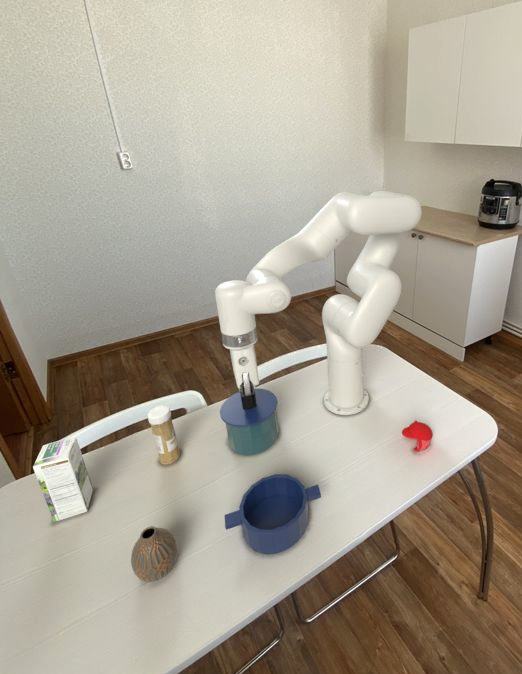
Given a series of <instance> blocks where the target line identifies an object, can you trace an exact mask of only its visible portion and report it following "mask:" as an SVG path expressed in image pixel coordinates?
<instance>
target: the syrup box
mask: <svg viewBox="0 0 522 674" xmlns="http://www.w3.org/2000/svg"><path fill="white" fill-rule="evenodd" d="M32 468H33V472H34V474H35V477H36V480H37V482H38V485H39V488H40V490H41V492H42V495H43V497H44V501H45V503H46V505H47V508H48V511H49V513H50V515H51V517H52V521H53V522H54V523H55V522H60V521H62V520H63V521H64V520H65V519H68V518H72V517H75V516H78V515H82V514H84V513H87V512H89V509H90V504H91V500H92V497H93V492H94V486H93V484H92V481H91V477H90V475H89V472H88V469H87V466H86V463H85V460H84V456H83V454H82V450H81V447H80V444H79V441H78V438H77V437H72V438H65V439H61V440H57V441H53V442H49V443H46V444H44V445H42V446H41V449H40V451H39V453H38V455H37V458H36V460H35V462H34V464H33V466H32Z"/></svg>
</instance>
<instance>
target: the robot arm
mask: <svg viewBox="0 0 522 674" xmlns="http://www.w3.org/2000/svg"><path fill="white" fill-rule="evenodd" d="M422 214H423V210H422V206H421V203H420V202H419V201H418V200H417V198H415V197H414V196H411V195H409V194H404V193H400V192H394V191H389V190H376V191H373V192H372V193H371V194H370V195H365V194H360V193H355V192H351V191H341V192H338V193H336V194H335V195H334V196H333V197H331V198H330V200H328V201H327V202H326V204H325V205H324V206H323V207H322V208H320V210H319V211H318V212H317V213H316V214H315V215H314V216H313V217H312V218H311V220H309V222H308V223H306V224H305V226H304V227H303V228H302V229H301V230H300V231H298V233H296V234H295V235H293V236H291V237H289V238H288V239H286V240H285V241H283V242H281V243H280V244H278V245H277V246H275V247H273V248H272V249H270V250H269V251H268V252H267V253H266V254H265V255H264V256H263V257H262V258H261V259H260V260H259V261H258V262H257V263H256V264H255V265H254V266H253V267H252V268H251V270H250V271H249V273H248V274H247V275H246V279H245V280H240V279H233V280H227V281H224V282H221V283H220V284H218V286H216V288H215V290H214V296H215V297H214V298H215V301H216V302H215V303H216V309H217V316H218V321H219V322H218V323H219V328H220V335H221V341H222V346H223V347H224V348H225V349H227V350H229V355H230V361H231V364H232V365H231V366H232V371H233V375H234V378H235V383H236V386H237V387H236V388H237V389H239V392H240V393H242V394H241V401H242V407H243V410H245V409H250V408H254V407H256V406H257V404H256V396H255V391H254V389H255V386H259V384H260V376H259V371H258V361H257V354H256V349H255V344H256V343H257V342H258V339H259V337H258V330H257V321H256V315H265V314H276V313H280V312H282V311H284V310H285V309H286V308H287V307H289V305H290V303H291V300H292V292H291V290H290V288H289V286H288V285H287V284H286V283H285V282H284V281H283V279H284V278H285V277H286V276H287V275H288V274H289V273H290V272H291V271H292V270H294V269H295V268H298V267H300V266H302V265H305V264H309V263H316V262H320V261H324V260H325V259H327V258H328V257H329V256H330V255H331V254H332V253H333V251H334V250H335V249H336V248H337V247H338V246H339V245H340V244H341V243H342V241H343V240H344V239H346V237H347V236H348V235H349V234H350V233H354V234H357V235H361V236H368V238H367V241H366V242H365V244H364V247H363V248H362V250H361V252H359V253H360V254H359V255H358V257H357V258H356V260H355V262H354V264H353V265H352V266H351V268H350V270H349V272H348V274H347V277H346V285H347V287H348V288H349V289H350V291H351V292H353V294H355V295H357V296H358V297H359V298H361V299H360V301H357V300H356V299H355V298H353V297H352V296H350V295H347V294H344V293H343V294H342V293H340V294H339V293H337V294H334V295H332V296H330V297H329V298H328V299H327V300H326V301H325V303H324V305H323V307H322V311H321V319H322V326H323V330H324V334H325V335H324V336H325V339H326V340H325V342H326V358H327V359H326V360H327V361H326V362H327V378H328V390H327V391H326V392H325V393H324V395H323V396H324V397H323V404H324V406H325V408H326V409H327V410H328V411H329V412H331V413H333V414H336V415H339V416H351V415H356V414H358V413H360V412H362V411H363V410H364V409H366V408H367V406H368V405H369V402H370V397H369V396H370V395H369V393H368V391H367V390H366V389H365V388H364V377H365V373H364V366H363V365H364V364H363V363H364V359H363V357H364V355H363V354H364V353H363V351H364V350H363V348H367V347H368V346H369V345H371V344H372V343H373V342H374V341H375V340H376V339H377V338H378V336H379V335H380V334H381V331H382V330H383V328H384V326H385V325H386V323H387V321H388V320H389V318H390V317H391V315H392V313H393V311H394V310H395V308H396V306H397V304H398V303H399V300H400V298H401V294H402V287H403V286H402V281H401V278H400V276H399V275H398V274H397V273H396V272H395V271H393V270H391V269H392V268H391V267H392V266H393V264H394V262H395V260H396V258H397V256H398V254H399V251H400V248H401V233H407V232H409V231H412V230H413V229H415V228H416V227H417V226H418V225H419V223H420V221H421V219H422V216H423V215H422ZM250 386H251V388H250ZM243 387H244V388H245V389H244V390H243ZM240 388H241V389H240Z"/></svg>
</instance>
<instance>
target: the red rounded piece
mask: <svg viewBox="0 0 522 674" xmlns="http://www.w3.org/2000/svg"><path fill="white" fill-rule="evenodd" d="M401 435H402V436H403V437H405V438H407V439H413V440H417V447H414V448H413V451H414V452H417V453H418V452H421V451H425V450H427V449H428V448H429V447H430V443H431V441H432V439H433V437H434V433H433V430H432V428H431V426H429V425H428V424H426V423H424V422H422V421H418V420H414V421H413V422H412V423H410V424H409V425H408V426H406V427H404V428H403V429H402V430H401Z"/></svg>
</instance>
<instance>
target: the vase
mask: <svg viewBox="0 0 522 674" xmlns="http://www.w3.org/2000/svg"><path fill="white" fill-rule="evenodd" d="M130 555H131V556H130V565H131V569H132V571H133V573H134V575H135V576H136V577H137V579H139V580H140V581H142V582H146V583H152V582H153V583H154V582H157V581H159V580H161V579H163V578H165V576H167V575H168V574H169V572H170V571H171V570H172V568H173V567H174V565H175V563H176V561H177V556H178V543H177V540H176V537H175V535H174V534H173V533H172V532H171V531H170V530H169V529H167V528H165V527H156V526H153V525H152V526H151V525H150V526H147V527H145V529H143V530H142V531H141V532H140V536H139V537H138V539H137V540H136V542H134V545H133V547H132V550H131V554H130Z"/></svg>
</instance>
